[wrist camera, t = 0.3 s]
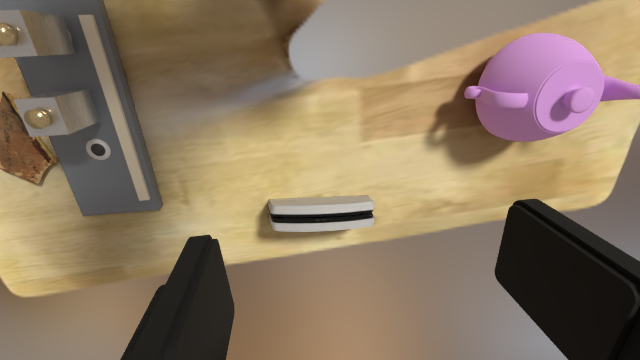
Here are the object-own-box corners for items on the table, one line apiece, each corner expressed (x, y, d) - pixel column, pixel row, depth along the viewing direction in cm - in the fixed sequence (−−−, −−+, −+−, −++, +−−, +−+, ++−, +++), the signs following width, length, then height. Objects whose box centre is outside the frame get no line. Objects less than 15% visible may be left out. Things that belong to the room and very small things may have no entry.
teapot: (591, 29, 43) (701, 25, 32) (563, 127, 49) (646, 152, 38) (456, 37, 41) (521, 34, 30) (444, 136, 47) (494, 166, 36)
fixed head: (28, 16, 34) (-38, 10, 27) (65, 15, 34) (10, 8, 27) (43, 55, 35) (-16, 58, 29) (79, 53, 36) (29, 56, 29)
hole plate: (0, -1, 35) (-15, -3, 33) (102, -4, 35) (92, -7, 34) (89, 210, 46) (80, 217, 44) (163, 204, 47) (158, 211, 45)
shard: (12, 89, 39) (0, 91, 37) (76, 120, 41) (67, 124, 40) (-8, 157, 42) (-20, 162, 40) (53, 182, 44) (44, 188, 43)
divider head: (56, 90, 37) (4, 101, 30) (91, 88, 37) (47, 98, 31) (69, 122, 39) (22, 139, 32) (102, 120, 39) (63, 137, 32)
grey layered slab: (269, 225, 51) (264, 242, 41) (268, 197, 50) (263, 208, 40) (366, 220, 52) (385, 236, 42) (366, 193, 52) (384, 202, 42)
